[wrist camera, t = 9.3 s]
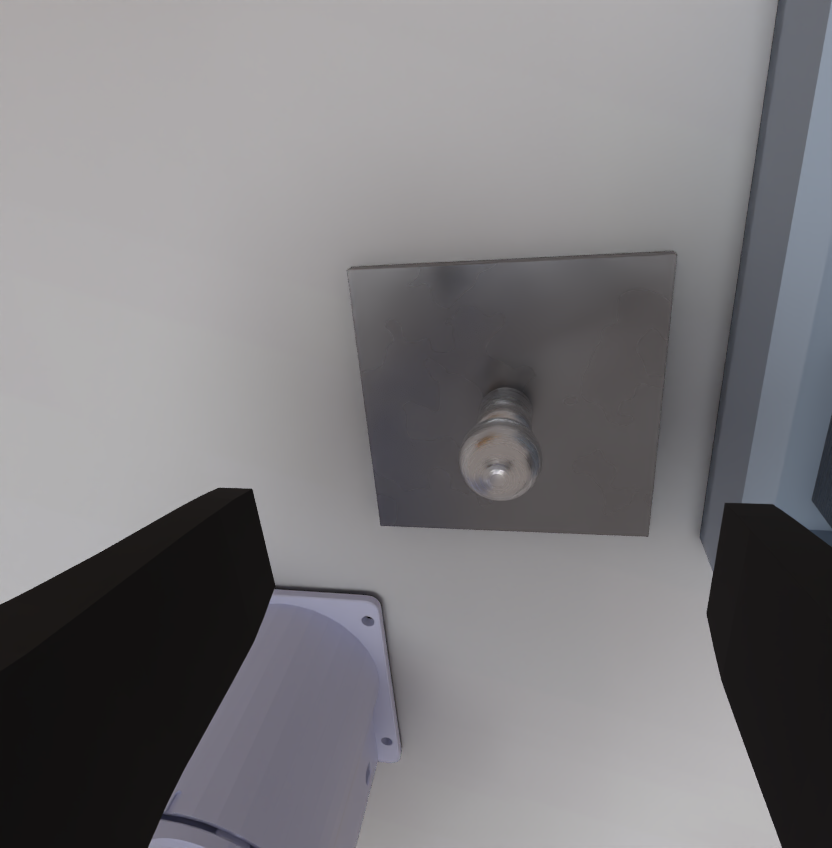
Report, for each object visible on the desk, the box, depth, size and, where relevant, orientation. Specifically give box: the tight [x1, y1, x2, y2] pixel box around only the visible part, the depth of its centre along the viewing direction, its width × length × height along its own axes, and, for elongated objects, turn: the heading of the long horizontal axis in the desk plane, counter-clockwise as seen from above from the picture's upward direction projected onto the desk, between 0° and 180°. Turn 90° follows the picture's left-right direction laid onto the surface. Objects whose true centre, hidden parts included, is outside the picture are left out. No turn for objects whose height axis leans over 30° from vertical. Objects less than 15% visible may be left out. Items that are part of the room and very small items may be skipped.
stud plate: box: [347, 251, 677, 537], centre depth 17 cm, size 9×9×5 cm
